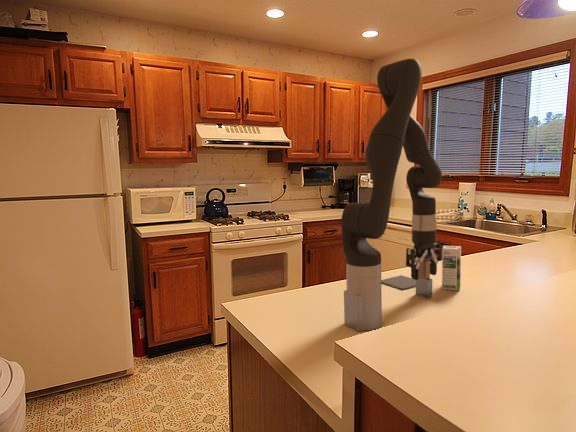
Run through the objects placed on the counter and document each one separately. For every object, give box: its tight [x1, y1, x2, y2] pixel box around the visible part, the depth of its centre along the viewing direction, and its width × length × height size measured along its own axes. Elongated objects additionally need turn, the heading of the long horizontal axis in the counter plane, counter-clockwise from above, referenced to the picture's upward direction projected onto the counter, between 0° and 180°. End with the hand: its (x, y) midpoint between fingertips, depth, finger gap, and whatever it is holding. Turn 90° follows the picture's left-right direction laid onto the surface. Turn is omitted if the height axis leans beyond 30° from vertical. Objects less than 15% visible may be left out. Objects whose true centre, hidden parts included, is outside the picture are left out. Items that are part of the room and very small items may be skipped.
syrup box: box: [441, 245, 462, 292], centre depth 129 cm, size 6×6×14 cm
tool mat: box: [381, 275, 416, 291], centre depth 137 cm, size 12×12×1 cm
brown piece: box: [415, 259, 433, 299], centre depth 122 cm, size 2×5×12 cm, turn 30°
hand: (424, 276), depth 122 cm, fingers open, 8 cm apart
